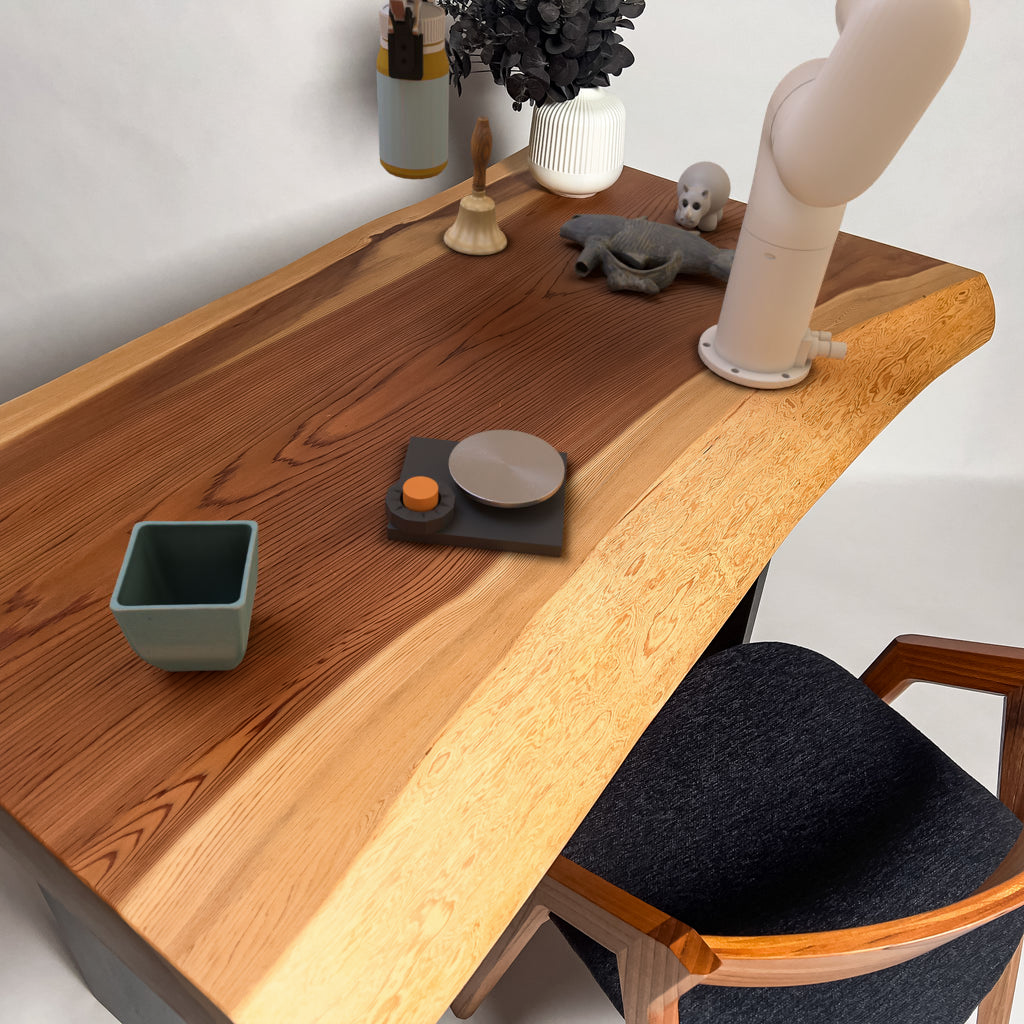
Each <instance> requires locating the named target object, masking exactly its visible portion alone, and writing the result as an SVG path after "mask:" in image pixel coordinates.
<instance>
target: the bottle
mask: <svg viewBox="0 0 1024 1024" xmlns="http://www.w3.org/2000/svg"><path fill="white" fill-rule="evenodd" d="M407 7H410V8H411V11H412V12H413V9H414V5H407ZM388 16H389V2H386V3H384V4H382V5H380V6H379V10H378V21H379V22H378V23H379V33H380V37H379V44H380V48H379V51H378V54H377V58H376V62H375V63H376V66H375V68H376V96H377V98H376V99H377V123H378V127H377V128H378V151H379V152H378V153H379V163H380V165H381V166H382V168H383V169H384V170H385V171H386V172H387V173H388V174H389V175H392V176H394V177H396V178H400V179H404V180H413V181H415V180H425V179H432V178H435V177H437V176H439V175H440V174H441V173H442V172H443V171H444V170H445V169H446V168H447V166H448V165H449V164H448V163H449V121H450V120H449V115H450V113H449V112H450V110H449V109H450V61H449V59H448V55H447V53H446V50H445V49H446V48H445V46H446V45H445V44H446V43H445V42H446V41H445V40H446V39H445V38H446V37H445V36H446V11H445V9H444V8H443V7H442V6H440V5H437V4H436V3H435V4H432V3H427V2H422V7H421V22H420V33H422V34H423V78H422V79H421V80H420V81H415V80H405V79H394V78H391V77H390V76H389V72H388V33H387V32H388ZM412 17H413V16H412Z"/></svg>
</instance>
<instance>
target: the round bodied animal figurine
mask: <svg viewBox="0 0 1024 1024" xmlns="http://www.w3.org/2000/svg"><path fill="white" fill-rule="evenodd" d="M676 185H677V186H676V197H677V201H678V203H677V205H678V208H677V210H676V212H675V215H674V219H675V220H674V221H675V222H676V223H677V224H679V225H681V227H683V228H685V229H694V228H696V227H697V228H698V229H699V230H701V231H702V232H712V231H714V230H716V229H717V226H718V223H719V222H720V221H721V220H722V219H723V216H724V215H723V214H724V207H725V206H726V204H727V203H728V201H729V199H730V196H731V191H732V187H731V180H730V177H729V175H728V173H727V171H726V170H725V169H724V168H723V167H722V166H721V165H719V164H717V163H716V162H712V161H705V160H704V161H698V162H695V163H693V164H691V165H689V166H688V167H687V168H686V169H685V170H684V171H683V172H682V173H681V175H680V177H679V179H678V181H677V184H676Z"/></svg>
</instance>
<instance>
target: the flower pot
mask: <svg viewBox="0 0 1024 1024" xmlns="http://www.w3.org/2000/svg"><path fill="white" fill-rule="evenodd" d="M258 579H259V524H258V522H257V521H255V520H243V519H242V520H241V519H239V520H184V521H181V520H179V521H176V520H169V521H168V520H164V521H163V520H145V521H139V522H137V523H134V525H133V528H132V530H131V535H130V537H129V541H128V543H127V548H126V551H125V554H124V557H123V561H122V564H121V567H120V570H119V573H118V576H117V579H116V582H115V586H114V589H113V591H112V595H111V598H110V600H109V609H110V610H111V612H112V614H113V616H114V618H115V621H116V623H117V624H118V626H119V628H120V630H121V633H123V635H124V637H125V639H126V641H127V643H128V644H129V646H130V648H131V650H132V651H133V652H134V653H135V654H136V656H138V657H139V658H140V659H141V660H143V661H144V662H145V663H147V664H149V665H151V666H153V667H155V668H158V669H161V670H163V671H166V672H172V673H173V672H174V673H175V672H200V671H201V672H202V671H203V672H204V671H207V672H208V671H210V672H211V671H232V670H234V669H236V668H237V667H238V666H239V665H240V663H241V662H242V661H243V659H244V658H245V655H246V651H247V647H248V640H249V634H250V626H251V620H252V613H253V608H254V602H255V596H256V592H257V586H258Z"/></svg>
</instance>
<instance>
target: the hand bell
mask: <svg viewBox="0 0 1024 1024" xmlns="http://www.w3.org/2000/svg"><path fill="white" fill-rule="evenodd" d="M475 123H476V124H475V126H474V128H473V132H472V134H471V139H470V155H471V160H472V164H473V174H472V175H473V176H472V185H471V194H468V195H466V196H463V197H462V198H461V199H460V203H459V209H458V213H457V216H456V219H455V221H454V223H453V224H452V226H450V227H449V228H448V229H447V230H446V231H445V233H444V235H443V242H444V243H445V245H446V246H447V247H448V248H450V249H451V250H453V251H455V252H458V253H459V254H460V253H461V254H464V255H470V256H489V255H490V256H491V255H494V254H497V253H500V252H502V251H503V250H504V249H506V247H507V244H508V240H507V237H506V235H505V233H504V232H503V231H502V230H501V229H500V227H499V225H498V224H499V223H498V222H497V221H498V220H497V215H496V214H497V213H496V202H495V201H494V199H492V198H491V197H489V196H487V195H486V188H487V185H486V183H487V169H488V165H489V163H490V159H491V156H492V151H493V150H492V149H493V134H492V130H491V126H490V121H489V117H488V116H485V115H481V116H480V115H479V116H478V117H477V119H476V122H475Z"/></svg>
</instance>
